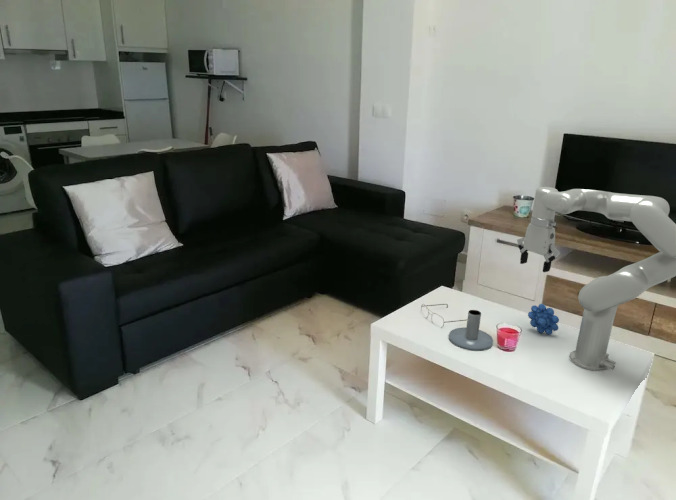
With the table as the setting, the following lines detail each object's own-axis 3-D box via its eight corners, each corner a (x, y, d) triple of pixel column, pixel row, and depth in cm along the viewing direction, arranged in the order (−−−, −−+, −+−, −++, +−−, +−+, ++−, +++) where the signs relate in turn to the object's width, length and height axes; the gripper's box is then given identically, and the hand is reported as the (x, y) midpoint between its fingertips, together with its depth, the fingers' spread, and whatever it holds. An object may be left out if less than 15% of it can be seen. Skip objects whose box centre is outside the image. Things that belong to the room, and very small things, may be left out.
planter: (463, 338, 194) (467, 313, 190) (467, 333, 197) (470, 308, 194) (476, 341, 192) (479, 316, 188) (479, 336, 196) (482, 311, 192)
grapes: (522, 333, 202) (527, 304, 198) (526, 326, 208) (531, 299, 204) (554, 341, 197) (559, 312, 193) (557, 334, 202) (563, 306, 198)
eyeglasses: (417, 313, 217) (418, 302, 215) (447, 308, 223) (448, 297, 221) (440, 330, 203) (441, 318, 201) (471, 324, 209) (472, 312, 207)
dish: (501, 344, 193) (502, 341, 193) (471, 355, 185) (472, 352, 184) (469, 326, 206) (469, 324, 205) (439, 336, 197) (440, 333, 197)
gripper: (570, 226, 180) (561, 273, 186) (528, 215, 194) (521, 258, 199) (557, 229, 176) (548, 276, 182) (515, 217, 190) (508, 261, 195)
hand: (534, 267), depth 191 cm, fingers open, 9 cm apart
